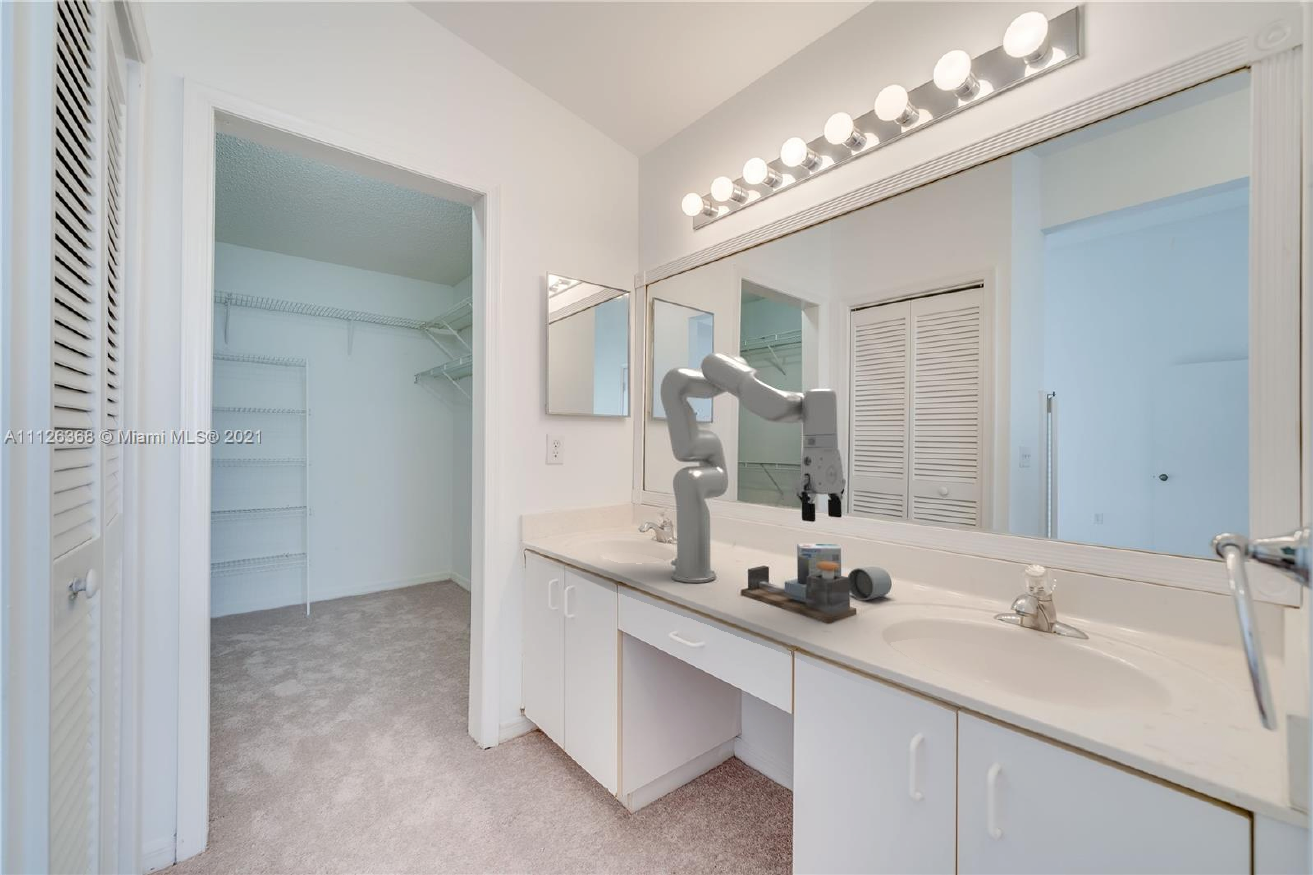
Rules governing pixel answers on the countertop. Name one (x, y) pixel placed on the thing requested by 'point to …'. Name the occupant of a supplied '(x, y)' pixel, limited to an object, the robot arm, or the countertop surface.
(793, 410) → the robot arm
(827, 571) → the button
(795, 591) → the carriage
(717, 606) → the countertop surface
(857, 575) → the ceramic mug
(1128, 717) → the countertop surface
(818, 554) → the light bulb box
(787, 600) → the rail board
